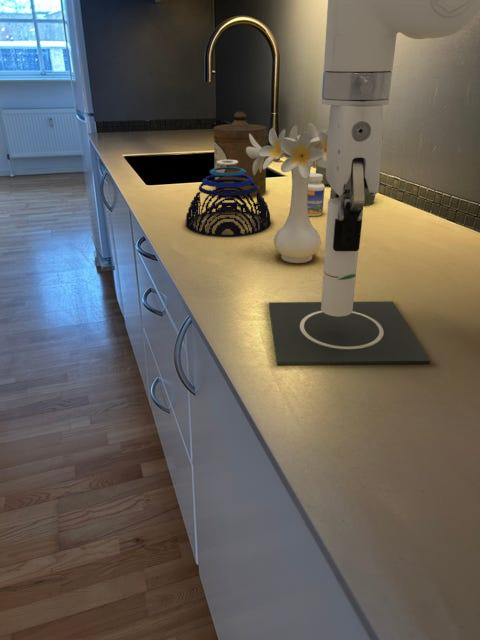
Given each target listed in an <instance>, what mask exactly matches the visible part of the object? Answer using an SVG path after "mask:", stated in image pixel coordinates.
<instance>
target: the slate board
mask: <svg viewBox="0 0 480 640" xmlns="http://www.w3.org/2000/svg"><path fill="white" fill-rule="evenodd" d="M321 303H322V301H294V302H293V301H286V302H283V301H282V302H281V301H280V302H279V301H278V302H276V301H275V302H274V301H272V302H271V301H270V302H268V307H269V309H268V310H269V315H270V323H271V332H272V338H273V345H274V352H275V361H276V366H308V365H309V366H316V365H317V366H318V365H319V366H320V365H325V366H328V365H330V366H331V365H423V364H424V365H429V364H431V359H430V358H429V356H428V355H427V353H426V352H425V350H424V349H423V347H422V345H421V344H420V342H419V341H418V339H417V337H416V336H415V334H414V333H413V331H412V329H411V328H410V327H409V325H408V323H407V321H406V320H405V319H404V317H403V315H402V314H401V312H400V310H399V309H398V307H397V306H396V304H395V303H394V301H353V311H352V313H351V314H349V315H347V316H331V315H327V314H325V313H324V312H322V310H321Z"/></svg>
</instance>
